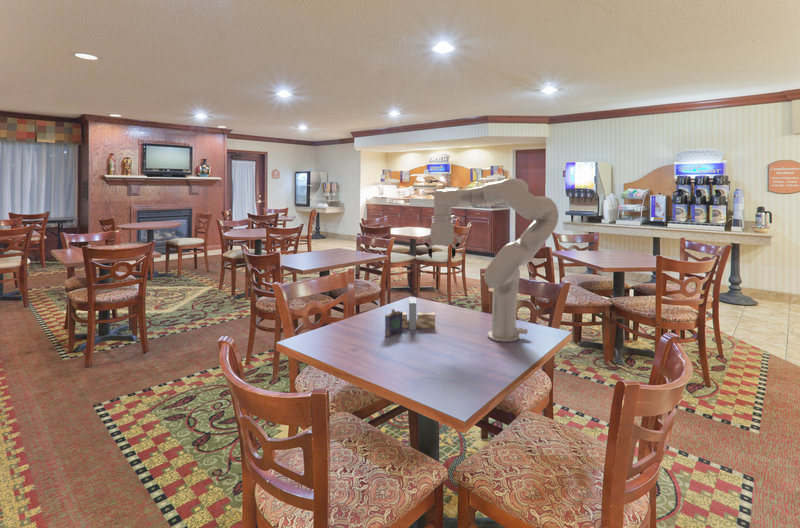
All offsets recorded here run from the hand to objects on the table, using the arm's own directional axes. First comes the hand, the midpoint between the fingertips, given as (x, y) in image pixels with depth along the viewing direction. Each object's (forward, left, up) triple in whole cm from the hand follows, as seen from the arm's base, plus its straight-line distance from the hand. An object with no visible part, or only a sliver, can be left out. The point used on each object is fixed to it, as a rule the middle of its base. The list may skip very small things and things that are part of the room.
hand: (441, 257), depth 195 cm
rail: (+13, +4, -30) cm, 33 cm away
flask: (+21, +14, -31) cm, 40 cm away
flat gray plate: (+13, +4, -30) cm, 33 cm away
